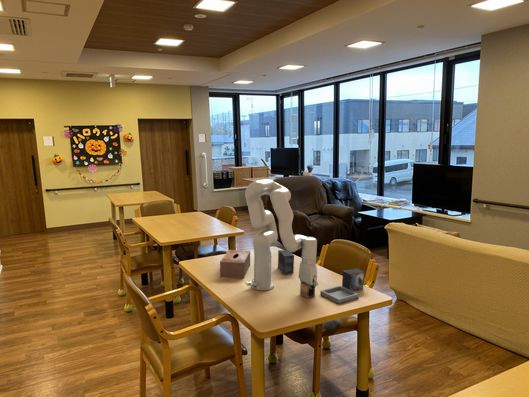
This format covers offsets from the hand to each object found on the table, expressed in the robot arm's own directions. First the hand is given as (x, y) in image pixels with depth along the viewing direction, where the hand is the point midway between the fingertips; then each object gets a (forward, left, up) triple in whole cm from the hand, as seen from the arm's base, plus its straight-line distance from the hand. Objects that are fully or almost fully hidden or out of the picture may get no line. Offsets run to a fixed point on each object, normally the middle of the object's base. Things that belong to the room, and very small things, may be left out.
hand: (307, 293), depth 204 cm
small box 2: (+27, -6, -1) cm, 28 cm away
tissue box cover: (-14, +54, -2) cm, 55 cm away
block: (0, 0, -1) cm, 1 cm away
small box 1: (+13, +38, -1) cm, 40 cm away
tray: (+13, -10, -1) cm, 17 cm away
